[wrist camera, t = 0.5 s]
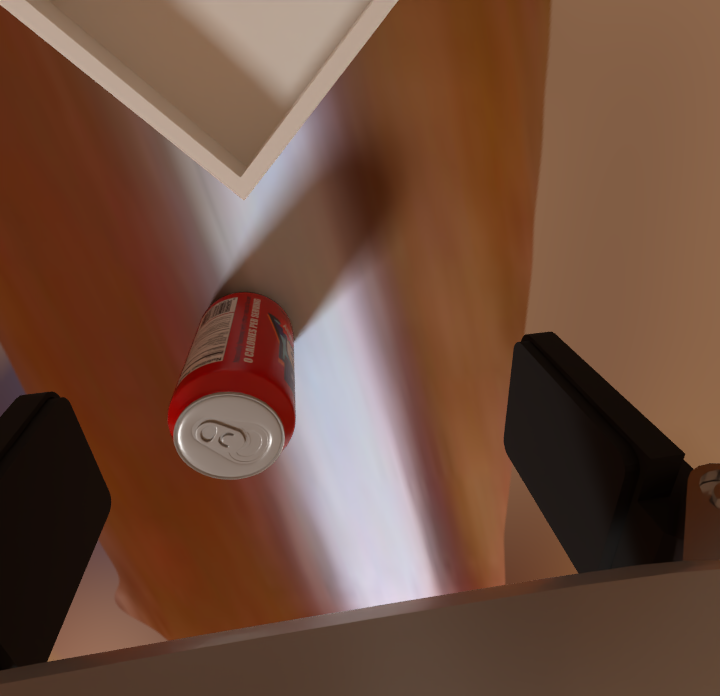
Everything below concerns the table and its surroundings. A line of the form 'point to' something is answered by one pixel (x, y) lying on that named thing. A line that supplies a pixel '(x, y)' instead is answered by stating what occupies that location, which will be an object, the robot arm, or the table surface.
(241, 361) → the soda can
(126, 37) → the tote
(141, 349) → the table surface
